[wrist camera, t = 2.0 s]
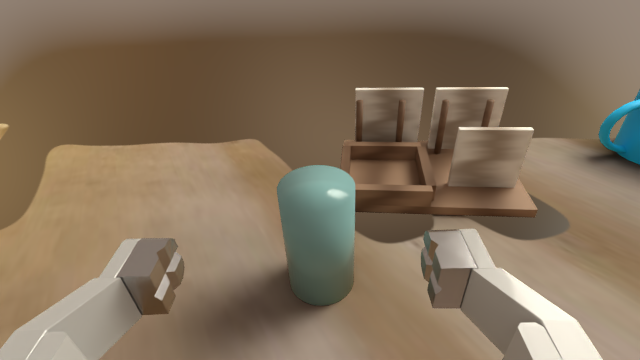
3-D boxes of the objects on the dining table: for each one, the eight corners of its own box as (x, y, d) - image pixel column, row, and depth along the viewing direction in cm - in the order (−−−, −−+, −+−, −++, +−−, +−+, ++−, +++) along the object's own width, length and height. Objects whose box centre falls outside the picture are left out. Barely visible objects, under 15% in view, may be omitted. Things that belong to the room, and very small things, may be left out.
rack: (338, 211, 38) (337, 137, 33) (344, 146, 50) (344, 84, 44) (534, 217, 36) (566, 139, 31) (493, 148, 47) (511, 82, 42)
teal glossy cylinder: (284, 303, 29) (269, 210, 23) (295, 252, 34) (284, 164, 28) (353, 307, 29) (354, 213, 23) (354, 255, 33) (356, 165, 27)
